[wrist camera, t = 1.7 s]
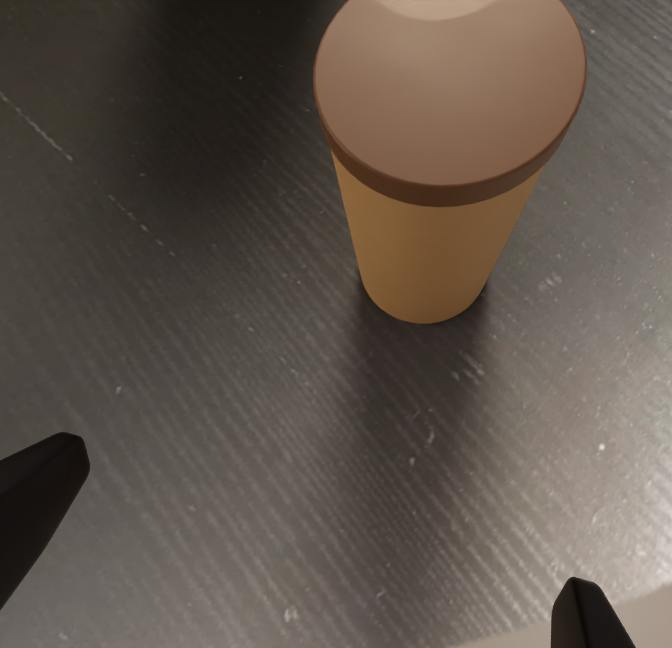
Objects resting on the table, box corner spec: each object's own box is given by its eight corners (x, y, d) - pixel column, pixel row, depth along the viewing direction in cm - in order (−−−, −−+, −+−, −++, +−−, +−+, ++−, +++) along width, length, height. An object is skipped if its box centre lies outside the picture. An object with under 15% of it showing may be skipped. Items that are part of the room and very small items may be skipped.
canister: (518, 265, 24) (650, 60, 11) (419, 353, 23) (440, 243, 11) (425, 178, 25) (450, -87, 13) (331, 260, 25) (260, 69, 12)
